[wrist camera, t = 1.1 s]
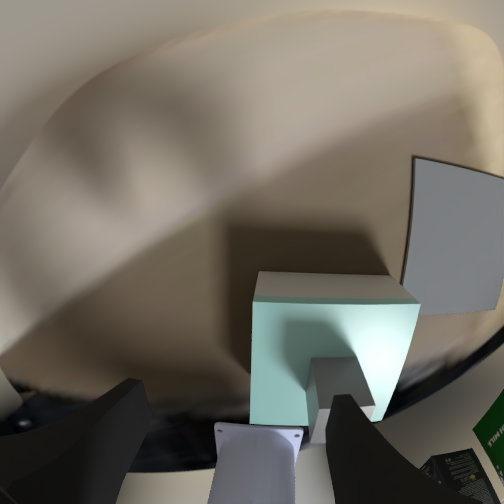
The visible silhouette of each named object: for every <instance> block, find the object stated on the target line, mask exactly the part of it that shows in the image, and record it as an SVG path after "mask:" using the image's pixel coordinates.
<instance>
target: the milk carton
mask: <svg viewBox="0 0 504 504" xmlns="http://www.w3.org/2000/svg"><path fill="white" fill-rule="evenodd" d="M473 431H474V433H475V434H476V436H477V438H478V439H479V441H480V443H481V445H482V447H483V448H484V450H485V452H486V453H487V455H488V457H489V458H490V460H491V462H492V464H493V466H494V468H495V470H496V472H497V474H498V476H499V478H500V480H501V482H502V484H503V486H504V389H503V391H502V392H501V394H500V395H499V397H498V398H497V399H496V401H495V402H494V403H493V405H492V406H491V407H490V409H489V410H488V411H487V412H486V414H485V415H484V416H483V417H482V419H481V420H480V421H479V422H478V424H477V425H476V426H475V427H474V428H473Z"/></svg>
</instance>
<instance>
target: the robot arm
mask: <svg viewBox="0 0 504 504" xmlns="http://www.w3.org/2000/svg"><path fill="white" fill-rule="evenodd" d="M151 418H152V413H151V410H150V406H149V403H148V400H147V396H146V393H145V389H144V386H143V382H142V380H137V379H132V378H128V379H126V380H124V381H123V382H121V383H120V384H118V385H117V386H116V387H114V388H113V389H111V390H110V391H108V392H107V393H105V394H104V395H102V396H101V397H99V398H98V399H96V400H95V401H93V402H92V403H90V404H88V405H87V406H85V407H83V408H82V409H80V410H78V411H76V412H75V413H73V414H71V415H69V416H67V417H65V418H63V419H61V420H59V421H57V422H54V423H52V424H50V425H47V426H44V427H41V428H38V429H35V430H32V431H28V432H25V433H20V434H15V435H10V436H2V437H0V504H116V500H117V497H118V494H119V491H120V488H121V485H122V482H123V480H124V478H125V475H126V473H127V471H128V469H129V467H130V465H131V464H132V462H133V460H134V458H135V456H136V454H137V452H138V450H139V448H140V446H141V444H142V442H143V440H144V438H145V436H146V433H147V430H148V427H149V424H150V421H151ZM214 430H215V439H216V447H217V455H218V459H217V464H216V468H215V473H214V477H213V481H212V486H211V490H210V494H209V499H208V504H295V463H296V459H297V456H298V452H299V448H300V444H301V440H302V436H303V428H302V427H282V426H259V425H245V424H233V423H224V422H216V423H215V426H214ZM325 438H326V452H327V458H328V464H329V469H330V474H331V480H332V485H333V490H334V496H335V504H483V502H482V501H480V500H477V499H474V498H471V497H469V496H466V495H463V494H460V493H458V492H456V491H454V490H452V489H450V488H448V487H446V486H444V485H442V484H440V483H439V482H437V481H436V480H434V479H432V478H431V477H429V476H428V475H426V474H424V473H423V472H422V471H420V470H419V469H418V468H416V467H415V466H414V465H413V464H411V463H410V462H409V461H408V460H407V459H405V458H404V457H403V456H402V455H401V454H400V453H399V452H398V451H397V450H396V449H395V448H394V447H393V446H392V445H391V444H390V443H389V442H388V441H387V440H386V439H385V438H384V436H383V435H382V434H381V433H380V432H379V431H378V429H377V428H376V427H375V426H374V425H373V423H372V422H371V421H370V420H369V418H368V417H367V416H366V414H365V413H364V412H363V411H362V409H361V408H360V406H359V405H358V404H357V402H356V401H355V399H354V398H353V397H352V395H350V394H342V395H334V397H333V401H332V405H331V409H330V413H329V417H328V421H327V424H326V428H325Z"/></svg>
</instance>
